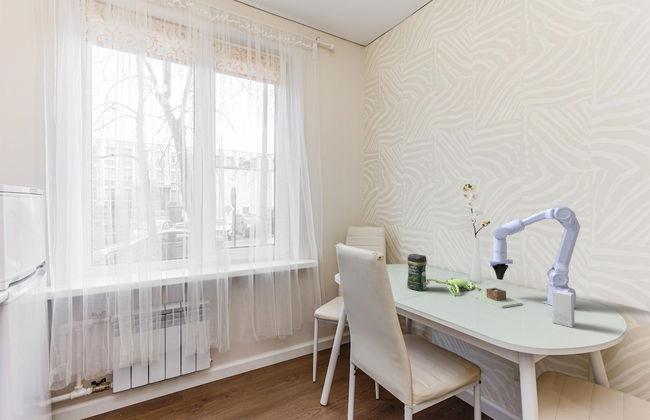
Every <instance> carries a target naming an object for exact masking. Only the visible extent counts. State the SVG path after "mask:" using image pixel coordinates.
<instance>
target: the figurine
mask: <svg viewBox="0 0 650 420" xmlns="http://www.w3.org/2000/svg"><path fill="white" fill-rule="evenodd" d="M430 282H435V283H436V284H441V285H445V284H446V285H451V286H448V287H447V289H448V290H449V292H450V293H451V294H452V296H453V297H455V295H456V296H457V295H459V294H460V289H459V288H462V287H463V288H464V289H465V288H466V289H468V290H472V289H473V286H474V287H475V288H476V290H477V291H480V290H481V288H480V286H478V285H477V284H476V283H474V282H473V281H470V282H469V281H467V280H464V279H459V278H457V279H456V278H455V279H454V278H450V279H447V280H445V281H444V280H443V281H442V280H441V281H440V280H437V279H436V278H426V285H427V286H428V285H429V284H430ZM468 285H469V286H468ZM453 286H454V288H453ZM455 289H456V290H455Z"/></svg>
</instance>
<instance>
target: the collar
mask: <svg viewBox="0 0 650 420" xmlns="http://www.w3.org/2000/svg"><path fill="white" fill-rule="evenodd" d="M494 290H498V291H494ZM486 293H487V298H490V299H492V300H495V301H501V300H506V297H507V290H504V289H501V288H497V287H492V288H491V287H490V288H486Z"/></svg>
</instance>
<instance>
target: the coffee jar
mask: <svg viewBox="0 0 650 420" xmlns="http://www.w3.org/2000/svg"><path fill="white" fill-rule="evenodd" d="M427 261H428V260H427V256H426V255H424V254H423V255H422V254H418V253H411V254H410V253H409V254H408V255H407V262H406V263H407V265H408V270H407V271H408V272H407V285H406V286H407V289H411V290H413V291H417V292H421V291H422V292H423V291H426V289H427V286H428V285H427V284H426V283H427V276H426V275H427V273H426V271H427V270H426V266H427V264H428V263H427Z"/></svg>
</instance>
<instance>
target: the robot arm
mask: <svg viewBox="0 0 650 420" xmlns="http://www.w3.org/2000/svg"><path fill="white" fill-rule="evenodd" d="M554 219H555V220H556V221H557V222H558V223H560V224H561V226H562V227H563V228H564V230H563V234H562V236H561V237H562V238H561V239H560V244H559V247H558V250H557V253H556V257H555V260H554V262H553V264H552V267H551V268H550V269H548V271H547V277H548V279H549V281H547V300H543V301H542V303H543V304H546V305H550V306H552V292H553V291H554V290H558V291H564V292H570V293H574V309H575V308H578V306H577V292H576V290H575V289H574V288H572V287H570V286H569V281H570V279H569V269H570V268H569V266H570V262H571V259H572V256H573V253H574V250H575V246H576V242H577V240H578V236H579V233H580V229H581V224H580V223H579V220H578V219H577V217H576V213H575V212H574V211H573V210H572V209H571V208H569V207H568V206H562V205H556V206H554V207H550V208H548V209H543V210H541V211H540V212H539V211H538V212H537V213H534V214H533V215H530V216H528V217H526V218H524V219H520V218H519V219H518V218H517V219H514V218H513V219H511V221H509V222H506V223H505V224H503V223H502V224H501V225H500V226H496V227H495V228H494V229H493V231H492V234H493V238H492V239H493V242H492V259H491V260H488V261H487V260H486V266H489V267H492V269H493V271H494V273H495V276H496V280H499V281H503V280H504V277H505V273H506V272H507V270H508V268H509V265H508V264H511V265H513V263H514V261H513V260H514V259H511V258H508V242H507V236H512V235H515V234H517V233H519V232H522V231H524V230H525V228H526V227H527V226H529V225H532V224H535V223H537V222H541V221H542V220H554Z"/></svg>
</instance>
